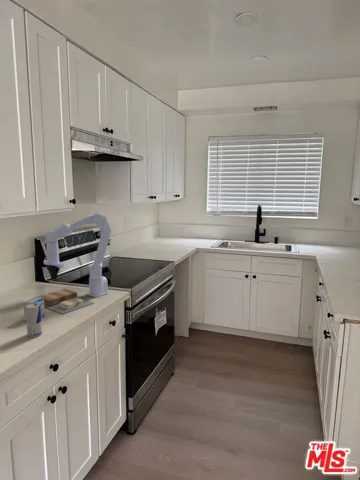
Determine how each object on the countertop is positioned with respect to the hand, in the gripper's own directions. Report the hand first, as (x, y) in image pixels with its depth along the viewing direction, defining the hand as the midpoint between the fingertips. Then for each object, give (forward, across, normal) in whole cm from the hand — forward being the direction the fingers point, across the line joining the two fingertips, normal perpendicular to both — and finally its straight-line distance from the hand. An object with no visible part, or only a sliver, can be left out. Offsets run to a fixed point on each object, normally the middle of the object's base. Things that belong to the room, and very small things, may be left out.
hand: (54, 279), depth 173 cm
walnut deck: (+9, +7, -3) cm, 12 cm away
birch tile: (+7, +19, -3) cm, 20 cm away
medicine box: (+10, +18, -22) cm, 30 cm away
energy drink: (+10, +33, -31) cm, 46 cm away
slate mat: (+9, +18, -3) cm, 21 cm away
